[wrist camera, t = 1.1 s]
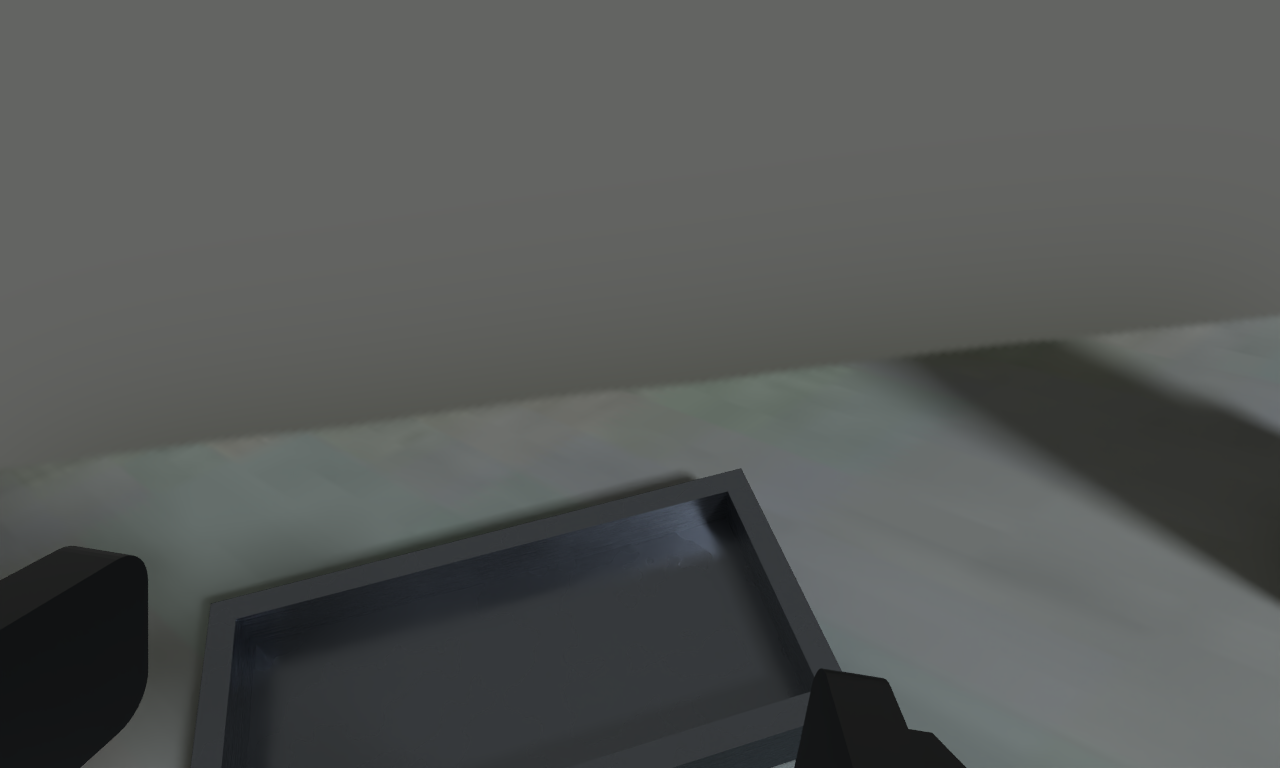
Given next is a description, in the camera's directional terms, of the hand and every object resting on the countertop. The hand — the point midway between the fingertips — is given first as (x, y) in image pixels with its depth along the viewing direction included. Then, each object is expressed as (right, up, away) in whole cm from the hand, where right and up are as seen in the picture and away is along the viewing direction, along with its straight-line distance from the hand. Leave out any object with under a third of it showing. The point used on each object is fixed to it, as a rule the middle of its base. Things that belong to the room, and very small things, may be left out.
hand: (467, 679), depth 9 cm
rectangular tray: (-2, -8, +21) cm, 23 cm away
